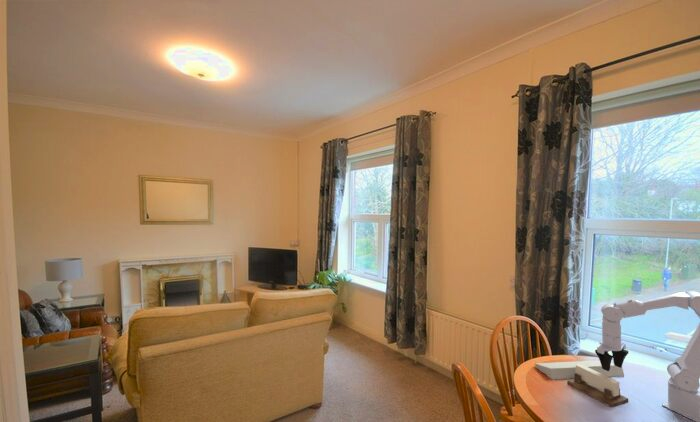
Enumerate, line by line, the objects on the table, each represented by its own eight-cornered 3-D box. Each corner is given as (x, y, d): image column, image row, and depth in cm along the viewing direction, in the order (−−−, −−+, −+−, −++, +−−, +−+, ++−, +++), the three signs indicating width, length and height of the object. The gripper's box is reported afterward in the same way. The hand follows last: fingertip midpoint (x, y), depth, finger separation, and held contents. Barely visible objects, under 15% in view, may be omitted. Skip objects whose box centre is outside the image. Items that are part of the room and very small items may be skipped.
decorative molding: (536, 374, 136) (553, 380, 127) (534, 363, 137) (550, 368, 128) (603, 371, 139) (624, 377, 130) (601, 360, 140) (621, 365, 131)
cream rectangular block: (619, 394, 112) (619, 381, 112) (614, 396, 111) (614, 383, 111) (580, 375, 125) (580, 363, 125) (575, 376, 124) (575, 365, 124)
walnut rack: (628, 401, 112) (628, 389, 112) (611, 407, 109) (611, 395, 109) (583, 378, 128) (583, 368, 128) (567, 383, 124) (567, 372, 124)
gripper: (611, 328, 125) (611, 360, 125) (588, 333, 121) (589, 366, 121) (631, 335, 119) (632, 368, 119) (608, 340, 114) (609, 375, 114)
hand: (611, 368), depth 119 cm, fingers open, 7 cm apart
